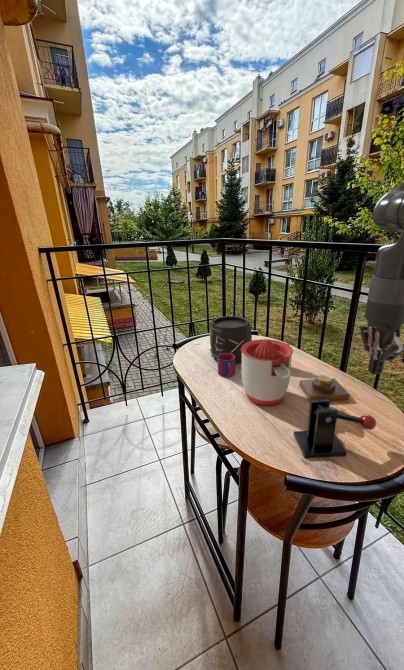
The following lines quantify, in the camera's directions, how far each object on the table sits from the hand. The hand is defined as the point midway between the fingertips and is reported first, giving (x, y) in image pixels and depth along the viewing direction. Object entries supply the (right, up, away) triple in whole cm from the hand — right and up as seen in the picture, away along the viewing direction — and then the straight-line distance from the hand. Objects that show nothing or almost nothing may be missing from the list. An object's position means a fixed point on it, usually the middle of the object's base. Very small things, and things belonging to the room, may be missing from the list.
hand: (374, 372), depth 63 cm
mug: (-30, -7, +43) cm, 52 cm away
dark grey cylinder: (-27, -1, +57) cm, 64 cm away
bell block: (+1, -10, +29) cm, 31 cm away
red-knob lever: (-5, -13, +5) cm, 15 cm away
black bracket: (-10, -19, +7) cm, 23 cm away
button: (0, -7, +27) cm, 28 cm away
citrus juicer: (-18, -12, +28) cm, 35 cm away
